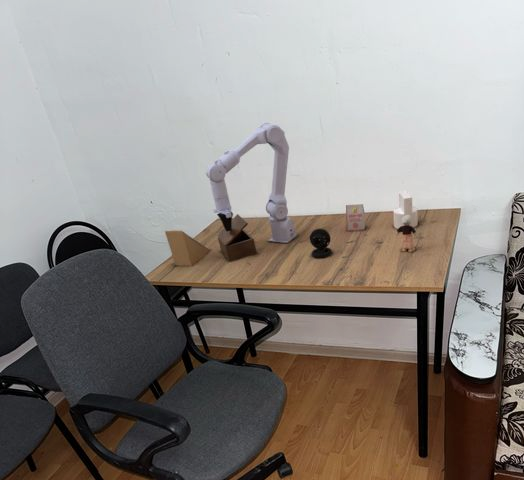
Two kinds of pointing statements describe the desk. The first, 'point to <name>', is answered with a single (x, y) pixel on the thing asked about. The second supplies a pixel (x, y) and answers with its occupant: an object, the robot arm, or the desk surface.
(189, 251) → the sandwich container
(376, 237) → the desk surface
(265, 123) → the robot arm
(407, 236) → the grandmother figurine
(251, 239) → the walnut box
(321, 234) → the webcam
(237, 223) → the lid
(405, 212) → the cylinder with rectangular tab
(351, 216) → the grey printed box
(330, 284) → the desk surface
